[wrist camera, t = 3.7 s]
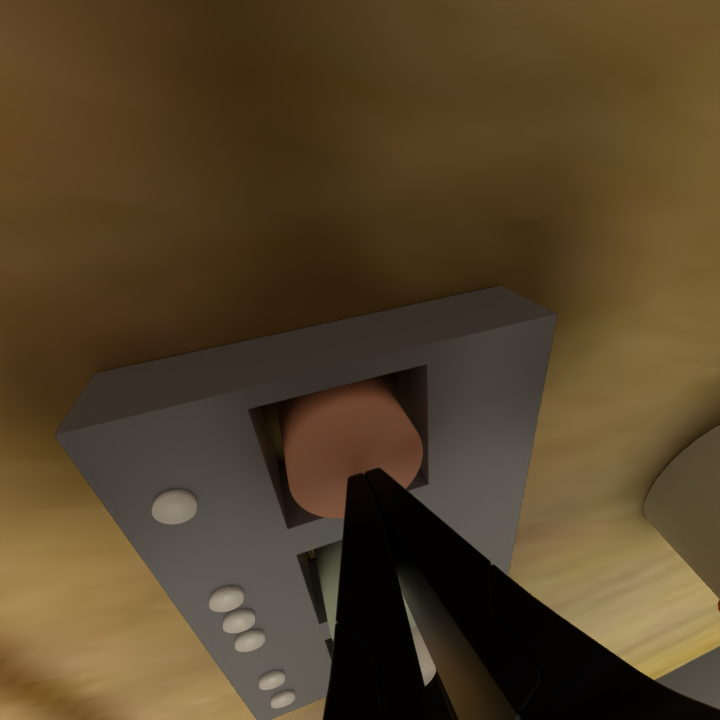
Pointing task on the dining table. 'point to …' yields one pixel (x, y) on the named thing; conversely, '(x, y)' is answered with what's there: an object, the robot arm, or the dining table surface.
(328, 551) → the button sage
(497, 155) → the dining table surface
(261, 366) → the button panel
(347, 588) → the robot arm
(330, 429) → the button terracotta
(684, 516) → the reusable coffee cup
